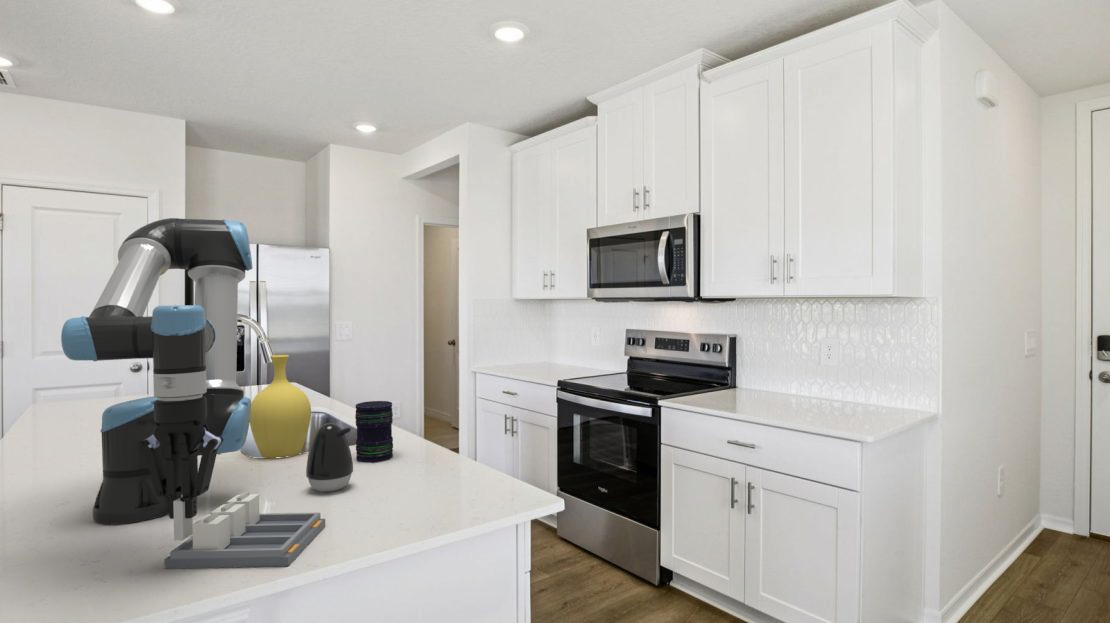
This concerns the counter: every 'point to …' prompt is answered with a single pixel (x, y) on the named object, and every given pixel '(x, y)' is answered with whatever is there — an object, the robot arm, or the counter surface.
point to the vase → (280, 415)
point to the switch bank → (255, 544)
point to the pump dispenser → (329, 459)
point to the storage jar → (374, 431)
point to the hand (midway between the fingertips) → (183, 536)
